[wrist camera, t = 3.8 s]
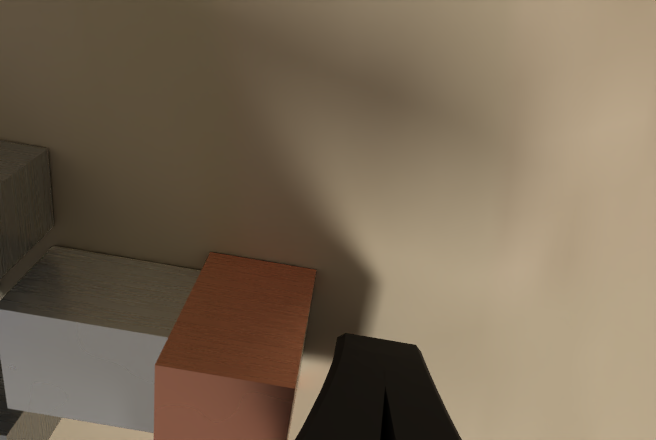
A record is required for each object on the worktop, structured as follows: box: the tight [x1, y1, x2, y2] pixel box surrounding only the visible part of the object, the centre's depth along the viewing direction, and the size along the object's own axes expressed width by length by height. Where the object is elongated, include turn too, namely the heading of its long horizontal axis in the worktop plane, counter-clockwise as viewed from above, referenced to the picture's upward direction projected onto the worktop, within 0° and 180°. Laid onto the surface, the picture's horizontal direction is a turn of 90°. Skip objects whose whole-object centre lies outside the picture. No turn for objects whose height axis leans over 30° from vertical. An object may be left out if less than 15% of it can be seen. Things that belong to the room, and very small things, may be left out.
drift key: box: [0, 246, 316, 440], centre depth 10 cm, size 3×4×3 cm, turn 82°
